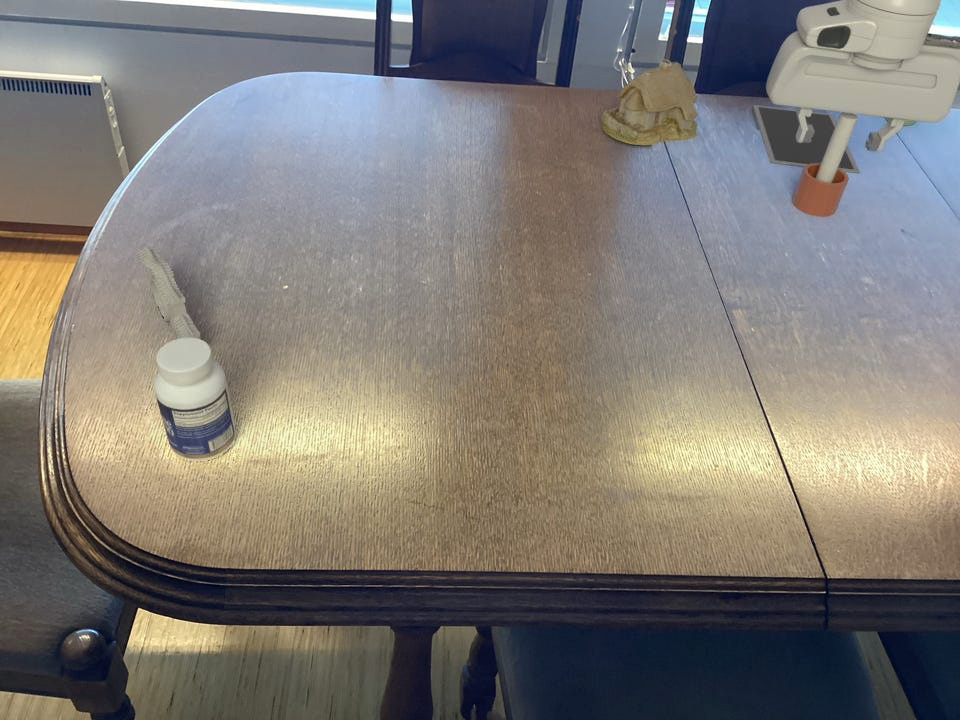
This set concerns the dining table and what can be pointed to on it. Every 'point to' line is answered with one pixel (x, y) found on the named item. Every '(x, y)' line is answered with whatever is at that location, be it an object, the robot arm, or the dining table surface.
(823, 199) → the cup
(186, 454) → the pill bottle
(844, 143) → the stylus
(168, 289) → the beige ridged long part
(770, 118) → the tablet
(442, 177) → the dining table surface
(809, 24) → the robot arm
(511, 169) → the dining table surface
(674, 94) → the ceramic model
